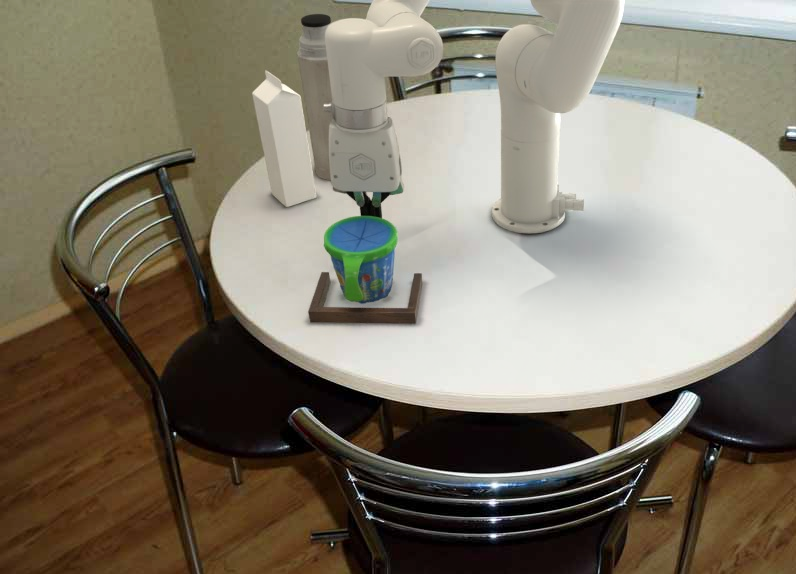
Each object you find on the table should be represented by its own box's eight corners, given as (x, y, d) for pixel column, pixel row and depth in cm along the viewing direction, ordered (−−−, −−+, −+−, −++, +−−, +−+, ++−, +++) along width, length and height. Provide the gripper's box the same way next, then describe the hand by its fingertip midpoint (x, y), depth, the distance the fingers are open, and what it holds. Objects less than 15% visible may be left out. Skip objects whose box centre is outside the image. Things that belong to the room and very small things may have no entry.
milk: (286, 208, 147) (262, 85, 132) (271, 194, 150) (246, 73, 136) (317, 197, 149) (297, 76, 135) (302, 184, 153) (281, 65, 139)
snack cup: (386, 326, 120) (379, 266, 114) (316, 317, 122) (306, 258, 115) (414, 266, 132) (410, 210, 126) (351, 260, 134) (343, 203, 127)
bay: (422, 283, 129) (421, 273, 127) (415, 324, 121) (414, 312, 120) (323, 282, 129) (321, 271, 128) (309, 322, 121) (307, 311, 120)
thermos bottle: (335, 157, 162) (314, 6, 144) (367, 167, 158) (349, 14, 140) (306, 173, 156) (281, 19, 138) (339, 184, 153) (317, 28, 135)
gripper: (302, 122, 116) (319, 236, 128) (410, 125, 116) (417, 239, 127) (314, 100, 122) (329, 212, 133) (416, 103, 121) (422, 214, 133)
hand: (372, 225), depth 130 cm, fingers closed
